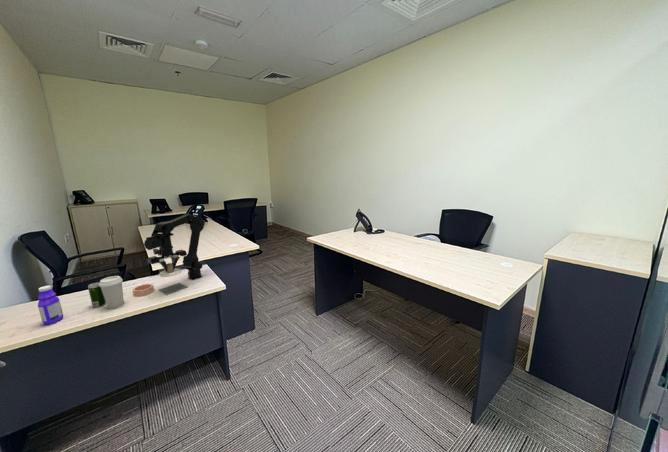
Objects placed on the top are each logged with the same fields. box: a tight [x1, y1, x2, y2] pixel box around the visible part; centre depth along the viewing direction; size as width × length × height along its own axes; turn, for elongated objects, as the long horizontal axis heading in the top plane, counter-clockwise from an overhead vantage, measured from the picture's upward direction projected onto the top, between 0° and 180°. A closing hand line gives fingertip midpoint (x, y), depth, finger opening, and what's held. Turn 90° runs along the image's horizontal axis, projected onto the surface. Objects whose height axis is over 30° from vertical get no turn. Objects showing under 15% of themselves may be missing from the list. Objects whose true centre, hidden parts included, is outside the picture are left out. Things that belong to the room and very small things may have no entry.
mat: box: [158, 282, 189, 296], centre depth 155 cm, size 12×12×1 cm
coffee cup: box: [99, 275, 125, 310], centre depth 136 cm, size 10×10×15 cm
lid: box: [158, 262, 182, 278], centre depth 152 cm, size 11×11×6 cm
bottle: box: [37, 285, 64, 325], centre depth 123 cm, size 7×6×17 cm
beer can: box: [87, 281, 107, 309], centre depth 137 cm, size 5×5×12 cm
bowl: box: [132, 283, 155, 297], centre depth 151 cm, size 10×10×4 cm
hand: (170, 270), depth 153 cm, fingers closed on lid, 4 cm apart
